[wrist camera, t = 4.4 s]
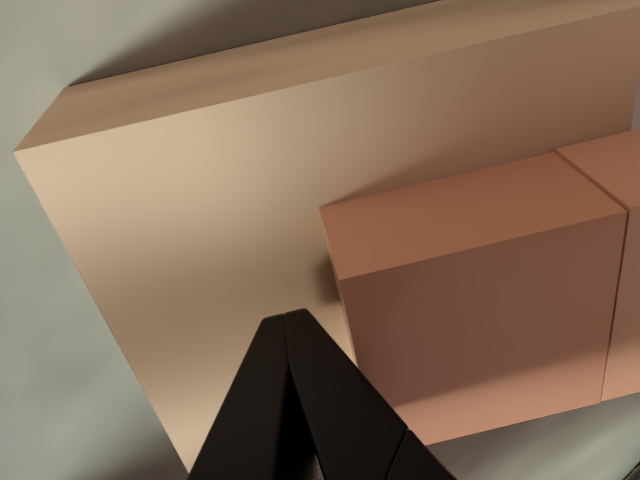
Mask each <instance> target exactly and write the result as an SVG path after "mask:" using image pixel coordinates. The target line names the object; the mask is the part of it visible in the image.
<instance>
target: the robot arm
mask: <svg viewBox="0 0 640 480" xmlns="http://www.w3.org/2000/svg"><path fill="white" fill-rule="evenodd" d="M316 455H317V458H318V461H319V464H320V468H321V471H322V474H323V477H324V480H457V479H456V478H455V477H454V476H453V475H452V474H451V473H450V472H449V471H448V470H447V469H446V468H445V467H444V466H443V465H442V464H441V462H440V461H439V460H438V459H437V458H436V457H435V456H434V455H433V454H432V453H431V452H430V451H429V449H428V448H427V447H426V446H425V445H424V444H423V443H422V442H421V440H420V439H419V438H418V437H417V436H416V435H415V433H414V432H413V431H412V430H409V427H408V426H407V424H406V423H405V422H404V421H403V420H402V419H401V417H400V416H399V415H398V414H397V413H396V412H395V410H394V409H393V408H392V407H391V406H390V405H389V403H388V402H387V401H386V400H385V399H384V398H383V396H382V395H381V394H380V393H379V392H378V391H377V389H376V388H375V387H374V386H373V385H372V384H371V382H370V381H369V380H368V379H367V378H366V377H365V376H364V374H363V373H362V372H361V371H360V370H359V369H358V367H357V366H356V365H355V364H354V363H353V362H352V360H351V359H350V358H349V357H348V356H347V355H346V353H345V352H344V351H343V350H342V349H341V348H340V346H339V345H338V344H337V343H336V342H335V341H334V339H333V338H332V337H331V336H330V335H329V334H328V332H327V331H326V330H325V329H324V328H323V327H322V325H321V324H320V323H319V322H318V321H317V320H316V318H315V317H314V316H313V315H312V314H311V313H310V311H309V310H308V309H306V308H301V309H297V310H293V311H289V312H286V313H285V314H284V313H281V314H277V315H273V316H269V317H265V318H263V319H262V320H261V322H260V324H259V326H258V329H257V331H256V333H255V335H254V337H253V339H252V341H251V343H250V345H249V348H248V350H247V352H246V354H245V356H244V358H243V360H242V362H241V365H240V367H239V369H238V371H237V373H236V375H235V377H234V379H233V382H232V384H231V386H230V388H229V390H228V392H227V394H226V396H225V399H224V401H223V403H222V405H221V407H220V409H219V411H218V413H217V416H216V418H215V420H214V422H213V424H212V426H211V428H210V430H209V433H208V435H207V437H206V439H205V441H204V443H203V445H202V447H201V450H200V452H199V454H198V456H197V458H196V460H195V462H194V464H193V466H192V469H191V471H190V473H189V475H188V477H187V479H186V480H318V474H317V460H316Z"/></svg>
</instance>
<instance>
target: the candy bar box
mask: <svg viewBox="0 0 640 480" xmlns="http://www.w3.org/2000/svg"><path fill="white" fill-rule="evenodd" d="M625 480H640V465H638V466H637V467H636V468H635V469H634V470H633V472H632V473H631V474H630V475H629V476H628V477H627V478H626V479H625Z"/></svg>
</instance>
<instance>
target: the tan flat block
mask: <svg viewBox="0 0 640 480" xmlns="http://www.w3.org/2000/svg"><path fill="white" fill-rule="evenodd" d="M639 69H640V1H637V0H440V1H436V2H432V3H427V4H423V5H419V6H414V7H410V8H406V9H401V10H397V11H393V12H388V13H384V14H380V15H376V16H371V17H367V18H363V19H358V20H354V21H350V22H345V23H341V24H337V25H332V26H328V27H324V28H319V29H315V30H311V31H306V32H302V33H298V34H293V35H289V36H285V37H281V38H276V39H272V40H268V41H263V42H259V43H255V44H250V45H246V46H242V47H237V48H233V49H229V50H224V51H220V52H216V53H211V54H207V55H203V56H198V57H194V58H190V59H186V60H181V61H177V62H173V63H168V64H164V65H160V66H155V67H151V68H147V69H142V70H138V71H134V72H129V73H125V74H121V75H116V76H112V77H108V78H103V79H99V80H95V81H91V82H86V83H82V84H78V85H73V86H69V87H65V88H64V89H63V90H62V91H61V93H60V94H59V95H58V96H57V97H56V99H55V100H54V101H53V102H52V104H51V105H50V106H49V107H48V109H47V110H46V111H45V112H44V114H43V115H42V116H41V117H40V119H39V120H38V121H37V122H36V124H35V125H34V126H33V127H32V129H31V130H30V131H29V132H28V134H27V135H26V136H25V137H24V139H23V140H22V141H21V142H20V143H19V145H18V146H17V147H16V148H15V150H14V151H13V153H14V155H15V157H16V159H17V161H18V163H19V164H20V166H21V168H22V170H23V172H24V174H25V175H26V177H27V179H28V181H29V183H30V184H31V186H32V188H33V190H34V192H35V194H36V195H37V197H38V199H39V201H40V203H41V205H42V206H43V208H44V210H45V212H46V214H47V215H48V217H49V219H50V221H51V223H52V225H53V226H54V228H55V230H56V232H57V234H58V236H59V237H60V239H61V241H62V243H63V245H64V246H65V248H66V250H67V252H68V254H69V256H70V257H71V259H72V261H73V263H74V265H75V267H76V268H77V270H78V272H79V274H80V276H81V278H82V279H83V281H84V283H85V285H86V287H87V288H88V290H89V292H90V294H91V296H92V298H93V299H94V301H95V303H96V305H97V307H98V309H99V310H100V312H101V314H102V316H103V318H104V319H105V321H106V323H107V325H108V327H109V329H110V330H111V332H112V334H113V336H114V338H115V340H116V341H117V343H118V345H119V347H120V349H121V351H122V352H123V354H124V356H125V358H126V360H127V361H128V363H129V365H130V367H131V369H132V371H133V372H134V374H135V376H136V378H137V380H138V382H139V383H140V385H141V387H142V389H143V391H144V392H145V394H146V396H147V398H148V400H149V402H150V403H151V405H152V407H153V409H154V411H155V413H156V414H157V416H158V418H159V420H160V422H161V423H162V425H163V427H164V429H165V431H166V433H167V434H168V436H169V438H170V440H171V442H172V444H173V445H174V447H175V449H176V451H177V453H178V455H179V456H180V458H181V460H182V462H183V464H184V465H185V467H186V469H187V471H188V473H190V471H191V469H192V466H193V464H194V462H195V460H196V458H197V456H198V454H199V452H200V450H201V447H202V445H203V443H204V441H205V439H206V437H207V435H208V433H209V430H210V428H211V426H212V424H213V422H214V420H215V418H216V416H217V413H218V411H219V409H220V407H221V405H222V403H223V401H224V399H225V396H226V394H227V392H228V390H229V388H230V386H231V384H232V382H233V379H234V377H235V375H236V373H237V371H238V369H239V367H240V365H241V362H242V360H243V358H244V356H245V354H246V352H247V350H248V348H249V345H250V343H251V341H252V339H253V337H254V335H255V333H256V331H257V329H258V326H259V324H260V322H261V320H262V319H263V318H265V317H269V316H273V315H277V314H281V313H284V314H285V313H286V312H289V311H293V310H297V309H301V308H306V309H308V310H309V311H310V313H311V314H312V315H313V316H314V317H315V318H316V320H317V321H318V322H319V323H320V324H321V325H322V327H323V328H324V329H325V330H326V331H327V332H328V334H329V335H330V336H331V337H332V338H333V339H334V341H335V342H336V343H337V344H338V345H339V346H340V348H341V349H342V350H343V351H344V352H345V353H346V355H347V356H348V357H349V358H350V359H351V360H352V362H353V357H352V353H351V348H350V344H349V339H348V335H347V330H346V326H345V322H344V317H343V313H342V308H341V304H340V299H339V295H338V290H337V286H336V281H335V277H334V273H333V268H332V264H331V259H330V255H329V250H328V246H327V241H326V237H325V232H324V228H323V223H322V219H321V215H320V210H319V207H323V206H327V205H332V204H336V203H340V202H344V201H348V200H352V199H357V198H361V197H365V196H369V195H373V194H377V193H382V192H386V191H390V190H394V189H398V188H403V187H407V186H411V185H415V184H419V183H424V182H428V181H432V180H436V179H440V178H445V177H449V176H453V175H457V174H461V173H466V172H470V171H474V170H478V169H482V168H487V167H491V166H495V165H499V164H503V163H508V162H512V161H516V160H520V159H524V158H529V157H533V156H537V155H541V154H546V153H550V152H554V151H555V149H556V148H560V147H564V146H568V145H573V144H577V143H581V142H585V141H589V140H593V139H597V138H601V137H605V136H609V135H613V134H617V133H621V132H626V131H630V130H631V126H632V119H633V112H634V105H635V97H636V90H637V83H638V76H639ZM353 363H354V362H353Z"/></svg>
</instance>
